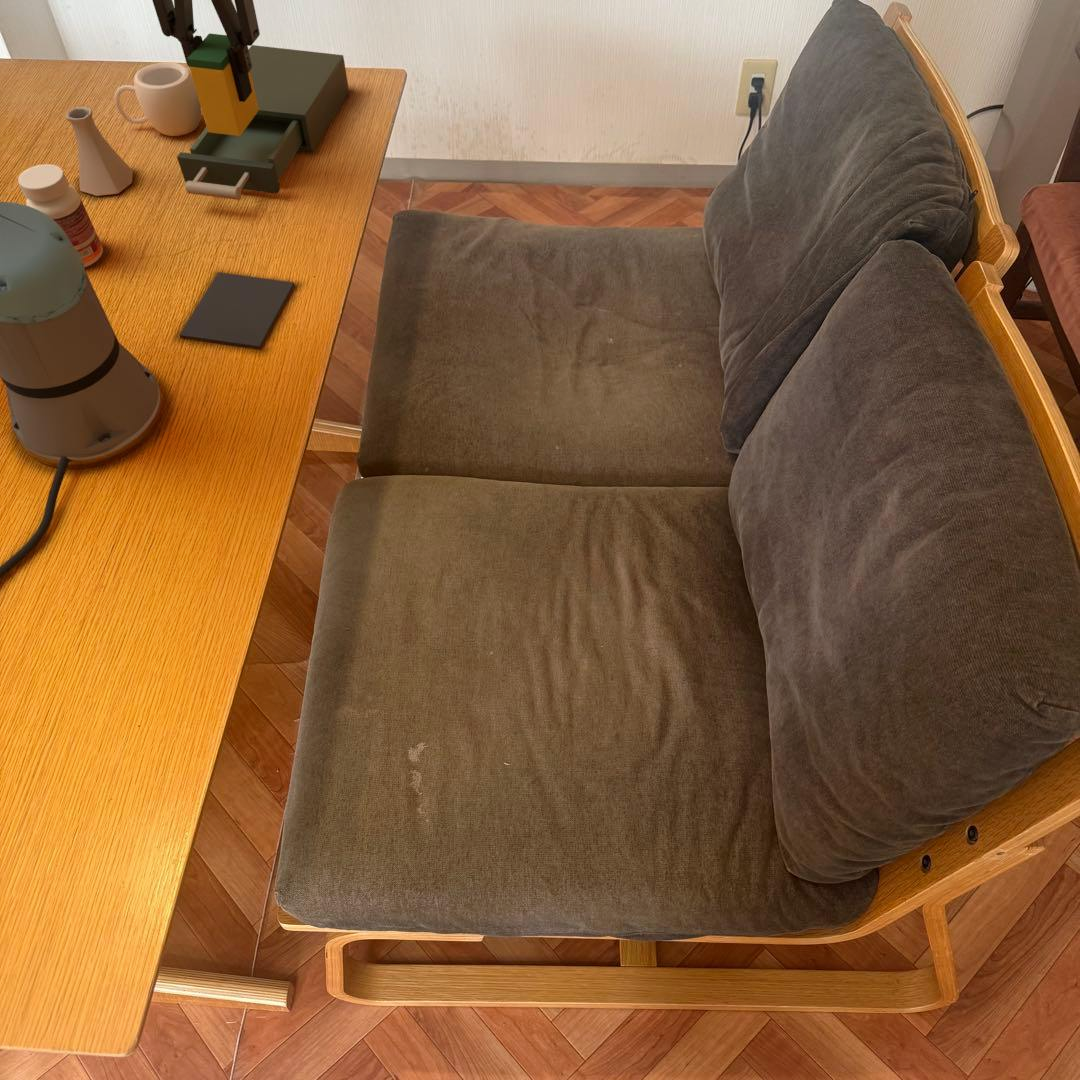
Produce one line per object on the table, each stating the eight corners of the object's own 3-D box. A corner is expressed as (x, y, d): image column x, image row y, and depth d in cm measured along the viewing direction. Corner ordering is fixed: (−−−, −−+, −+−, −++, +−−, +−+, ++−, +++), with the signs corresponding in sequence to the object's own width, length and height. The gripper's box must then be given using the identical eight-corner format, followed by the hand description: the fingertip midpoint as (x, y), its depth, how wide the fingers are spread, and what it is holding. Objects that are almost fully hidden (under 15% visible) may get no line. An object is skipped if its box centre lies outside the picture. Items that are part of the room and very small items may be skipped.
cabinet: (312, 152, 130) (304, 115, 125) (217, 140, 131) (206, 103, 127) (349, 91, 140) (343, 54, 135) (260, 81, 141) (251, 44, 137)
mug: (210, 110, 136) (194, 57, 130) (204, 141, 131) (188, 87, 125) (129, 114, 135) (109, 61, 128) (120, 145, 130) (100, 91, 124)
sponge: (240, 136, 118) (221, 62, 111) (208, 132, 119) (186, 58, 111) (259, 109, 123) (242, 36, 115) (228, 106, 123) (209, 32, 115)
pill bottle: (109, 241, 117) (74, 160, 108) (97, 271, 113) (60, 190, 104) (61, 241, 116) (22, 161, 107) (47, 271, 113) (6, 190, 104)
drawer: (264, 216, 119) (257, 190, 116) (169, 204, 120) (159, 178, 117) (316, 130, 132) (311, 105, 128) (230, 120, 133) (223, 94, 130)
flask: (142, 169, 126) (116, 100, 118) (123, 199, 122) (94, 129, 114) (92, 166, 127) (63, 96, 119) (71, 195, 122) (39, 125, 114)
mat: (260, 349, 105) (259, 346, 105) (180, 337, 106) (178, 334, 106) (294, 285, 112) (294, 282, 112) (219, 275, 113) (218, 272, 113)
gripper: (260, -120, 100) (300, 87, 119) (113, -134, 102) (176, 73, 121) (234, -96, 96) (280, 116, 115) (82, -111, 98) (152, 100, 116)
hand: (227, 93), depth 118 cm, fingers closed on sponge, 4 cm apart
